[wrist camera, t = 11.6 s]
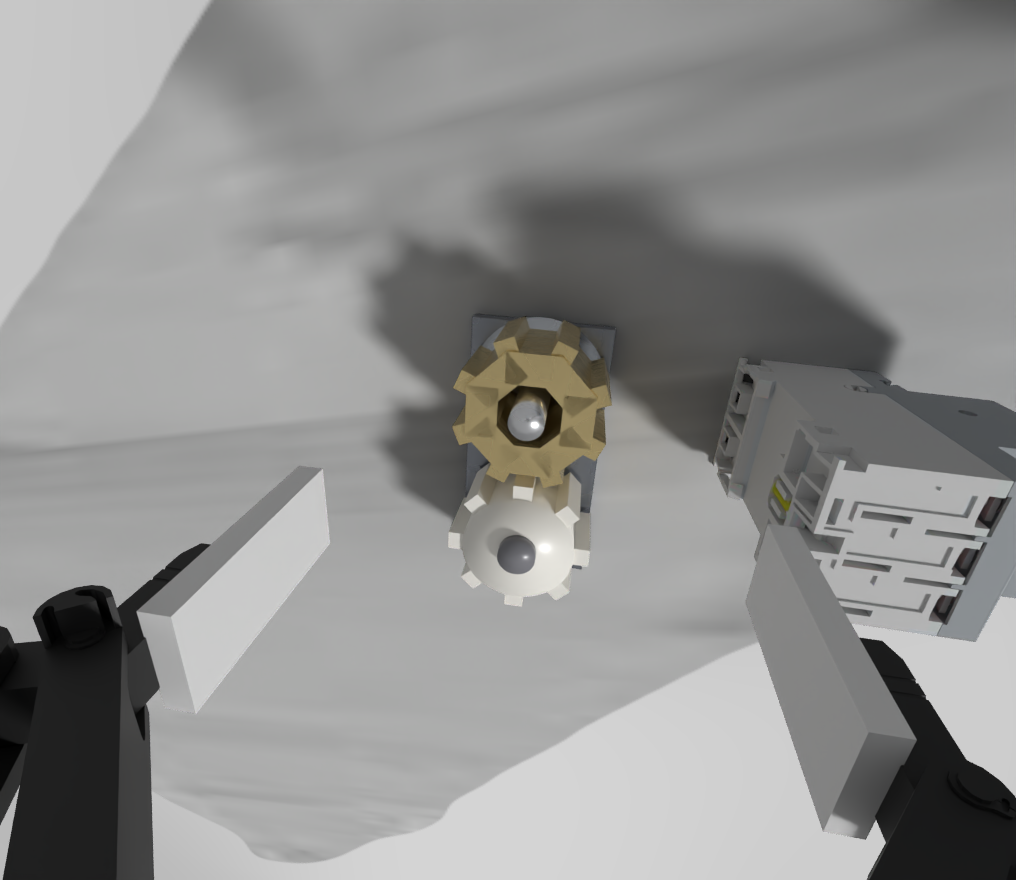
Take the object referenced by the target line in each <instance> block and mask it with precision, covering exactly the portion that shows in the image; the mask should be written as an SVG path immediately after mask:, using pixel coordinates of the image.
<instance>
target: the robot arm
mask: <svg viewBox="0 0 1016 880" xmlns="http://www.w3.org/2000/svg"><path fill="white" fill-rule="evenodd" d="M329 544H330V538H329V528H328V518H327V508H326V498H325V488H324V477H323V469H321V468H313V467H305V466H299V467H297V468H296V469H295V470H294V471H293V472H292V473H291V474H290V475H288V476H287V477H286V478H285V479H284V480H283V481H282V482H281V483H279V484H278V485H277V486H276V487H275V488H274V489H273V490H272V491H271V492H269V493H268V494H267V495H266V496H265V497H264V498H263V499H262V500H260V501H259V502H258V503H257V504H256V505H255V506H254V507H253V508H252V509H250V510H249V511H248V512H247V513H246V514H245V515H244V516H243V517H241V518H240V519H239V520H238V521H237V522H236V523H235V524H234V525H233V526H231V527H230V528H229V529H228V530H227V531H226V532H225V533H224V534H222V535H221V536H220V537H219V538H218V539H217V540H216V541H215V542H213V543H212V544H211V545H209V544H203V543H201V544H199V545H197V546H195V547H193V548H191V549H189V550H187V551H185V552H183V553H181V554H180V555H179V556H178V557H176V558H175V559H174V560H173V561H172V562H170V563H169V564H168V565H167V566H166V568H165V570H164V569H162V570H161V571H160V572H159V573H158V574H156V575H155V576H154V577H153V580H149V581H148V582H147V583H146V584H145V585H143V586H142V587H141V588H140V589H139V590H138V591H136V592H135V593H134V594H133V595H132V596H131V597H129V598H128V599H127V600H126V601H125V602H124V603H122V604H121V605H120V606H119V607H118V608H117V607H116V604H115V601H114V598H113V595H112V592H111V590H110V589H108V588H106V587H104V586H94V585H90V586H83V587H77V588H74V589H71V590H68V591H65V592H62V593H60V594H58V595H56V596H54V597H52V598H50V599H49V600H47V601H46V602H45V603H44V604H42V605H41V606H40V607H39V608H38V609H37V610H36V612H35V614H34V616H33V620H34V622H35V625H36V627H37V630H38V632H39V635H40V637H41V640H42V641H37V642H26V643H14V641H13V639H12V637H11V634H10V632H9V631H8V629H7V628H5V627H1V626H0V825H1V822H2V820H3V818H4V816H5V814H6V812H7V810H8V808H9V806H10V804H11V801H12V800H13V798H14V796H15V793H16V792H17V790H18V787H19V785H20V788H19V793H18V799H17V804H16V810H15V816H14V820H13V826H12V832H11V837H10V842H9V848H8V853H7V859H6V864H5V870H4V875H3V880H154V868H153V866H154V865H153V831H152V796H151V760H150V725H149V712H148V708H147V705H146V703H147V702H148V701H149V699H150V698H151V697H152V696H153V695H154V694H155V693H156V692H157V691H158V689H159V691H160V695H161V698H162V702H163V705H164V708H166V709H172V710H177V711H182V712H188V713H193V714H196V713H197V712H198V711H199V709H200V708H201V707H202V706H203V704H204V703H205V702H206V701H207V699H208V698H209V697H210V695H211V694H212V693H213V692H214V690H215V689H216V688H217V687H218V685H219V684H220V683H221V681H222V680H223V679H224V678H225V676H226V675H227V674H228V673H229V671H230V670H231V669H232V667H233V666H234V665H235V664H236V662H237V661H238V660H239V659H240V657H241V656H242V655H243V653H244V652H245V651H246V650H247V648H248V647H249V646H250V645H251V643H252V642H253V641H254V639H255V638H256V637H257V636H258V634H259V633H260V632H261V631H262V629H263V628H264V627H265V625H266V624H267V623H268V622H269V620H270V619H271V618H272V617H273V615H274V614H275V613H276V611H277V610H278V609H279V608H280V606H281V605H282V604H283V603H284V601H285V600H286V599H287V597H288V596H289V595H290V594H291V592H292V591H293V590H294V589H295V587H296V586H297V585H298V583H299V582H300V581H301V580H302V578H303V577H304V576H305V575H306V573H307V572H308V571H309V569H310V568H311V567H312V566H313V564H314V563H315V562H316V560H317V559H318V558H319V557H320V555H321V554H322V553H323V552H324V550H325V549H326V548H327V546H328V545H329ZM746 605H747V608H748V611H749V614H750V617H751V620H752V623H753V626H754V629H755V632H756V635H757V638H758V640H759V643H760V646H761V649H762V652H763V655H764V658H765V661H766V664H767V667H768V670H769V673H770V676H771V679H772V681H773V685H774V688H775V691H776V694H777V697H778V700H779V703H780V706H781V708H782V711H783V714H784V717H785V720H786V723H787V726H788V729H789V732H790V735H791V738H792V741H793V744H794V747H795V750H796V753H797V756H798V759H799V762H800V765H801V768H802V770H803V774H804V777H805V780H806V782H807V785H808V788H809V791H810V794H811V797H812V800H813V803H814V806H815V809H816V812H817V815H818V818H819V821H820V824H821V827H822V830H823V832H828V833H834V834H838V835H844V836H849V837H854V838H860V839H866V838H867V836H868V834H869V832H870V830H871V828H872V826H873V824H874V822H875V820H877V823H878V825H879V827H880V829H881V832H882V834H883V837H884V839H885V841H886V844H885V845H884V848H883V849H882V851H881V853H880V855H879V857H878V859H877V860H876V862H875V864H874V866H873V868H872V870H871V872H870V873H869V875H868V878H867V880H1016V798H1015V796H1014V795H1013V794H1012V793H1011V792H1010V791H1009V789H1008V788H1007V787H1006V786H1005V785H1004V784H1003V783H1002V782H1001V781H1000V780H999V779H997V778H996V777H994V776H993V775H992V774H990V773H989V772H988V771H986V770H985V769H984V768H982V767H979V766H977V765H975V764H973V763H971V762H969V761H967V760H966V759H965V757H964V755H963V754H962V752H961V751H960V749H959V748H958V746H957V744H956V743H955V741H954V740H953V738H952V736H951V735H950V733H949V732H948V730H947V728H946V727H945V725H944V724H943V722H942V721H941V719H940V717H939V716H938V714H937V713H936V711H935V710H934V708H933V706H932V705H931V703H930V702H929V700H926V695H925V694H924V692H923V691H922V689H921V687H920V686H919V684H917V683H916V682H915V680H916V679H915V678H914V676H913V675H912V673H911V672H910V670H909V668H908V667H907V665H906V664H905V662H904V660H903V659H901V658H900V657H899V656H898V655H897V654H896V653H895V652H894V651H893V650H892V649H891V648H889V647H888V646H887V645H886V644H885V643H884V642H883V641H879V640H872V639H865V638H859V637H858V635H857V633H856V632H855V630H854V628H853V626H852V624H851V623H850V621H849V619H848V617H847V616H846V614H845V612H844V610H843V608H842V607H841V605H840V603H839V601H838V600H837V598H836V596H835V594H834V593H833V591H832V589H831V587H830V585H829V584H828V582H827V580H826V578H825V577H824V575H823V573H822V571H821V570H820V568H819V566H818V564H817V562H816V561H815V559H814V557H813V555H812V554H811V552H810V550H809V548H808V547H807V545H806V543H805V541H804V539H803V538H802V536H801V534H800V532H799V531H798V529H797V527H790V526H781V525H773V524H768V525H767V528H766V532H765V535H764V539H763V542H762V546H761V549H760V553H759V556H758V560H757V563H756V567H755V570H754V574H753V577H752V581H751V584H750V588H749V591H748V595H747V598H746Z"/></svg>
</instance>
